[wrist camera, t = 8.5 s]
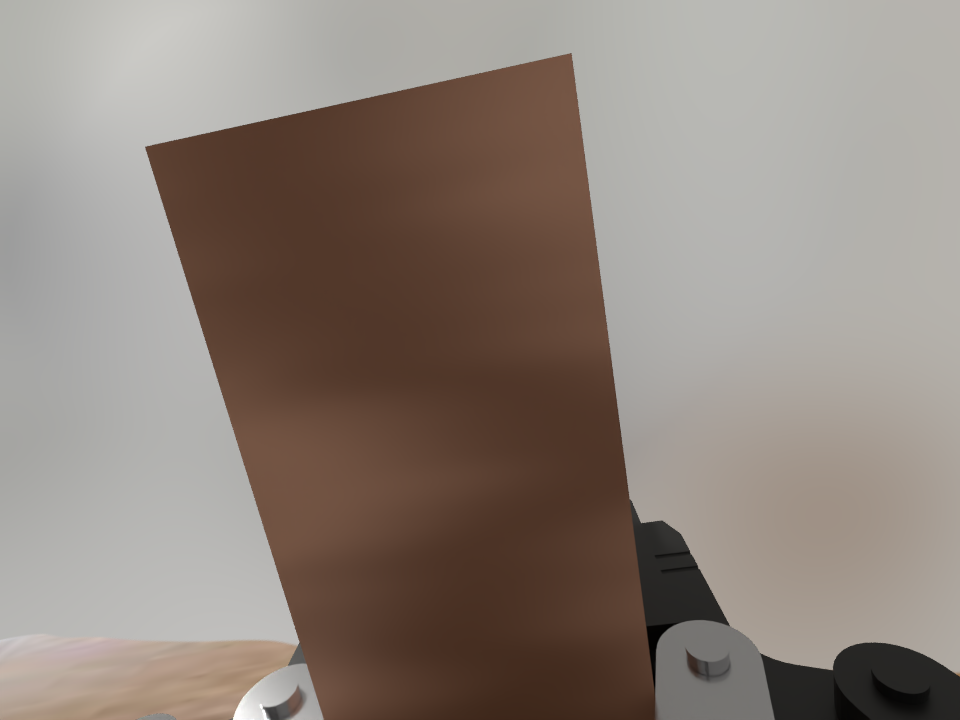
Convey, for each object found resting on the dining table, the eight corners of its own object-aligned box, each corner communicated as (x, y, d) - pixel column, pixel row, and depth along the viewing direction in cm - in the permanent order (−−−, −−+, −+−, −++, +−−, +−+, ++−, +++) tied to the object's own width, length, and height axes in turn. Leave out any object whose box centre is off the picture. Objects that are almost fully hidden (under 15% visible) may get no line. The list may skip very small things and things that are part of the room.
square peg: (487, 1244, 9) (144, 146, 5) (495, 942, 13) (304, 179, 9) (726, 1245, 9) (571, 53, 5) (661, 934, 13) (545, 129, 9)
